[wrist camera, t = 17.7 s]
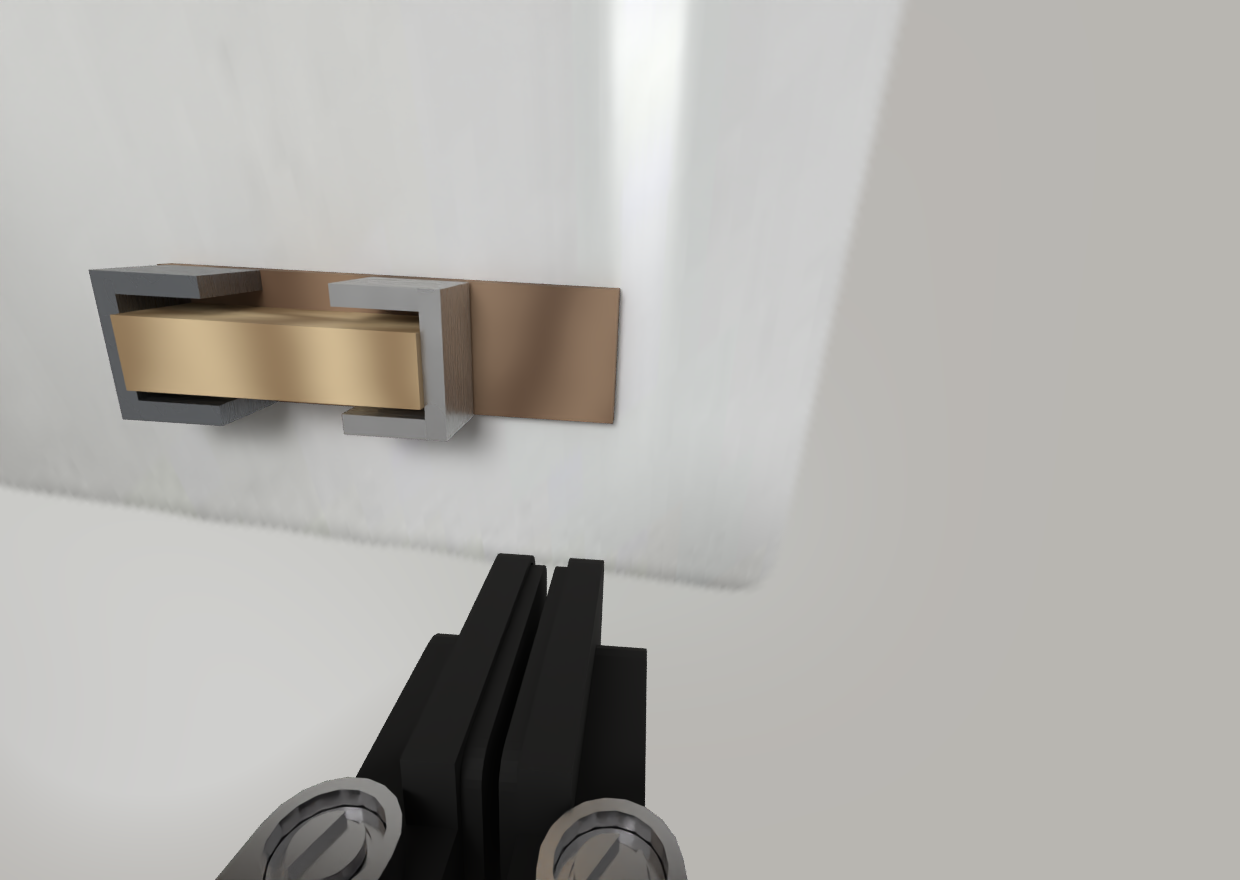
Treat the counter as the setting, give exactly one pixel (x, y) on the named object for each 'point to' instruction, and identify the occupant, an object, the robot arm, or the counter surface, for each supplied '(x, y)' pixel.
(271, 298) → the base board
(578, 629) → the robot arm
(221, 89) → the counter surface
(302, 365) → the slat
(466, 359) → the bracket
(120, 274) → the grey end holder
